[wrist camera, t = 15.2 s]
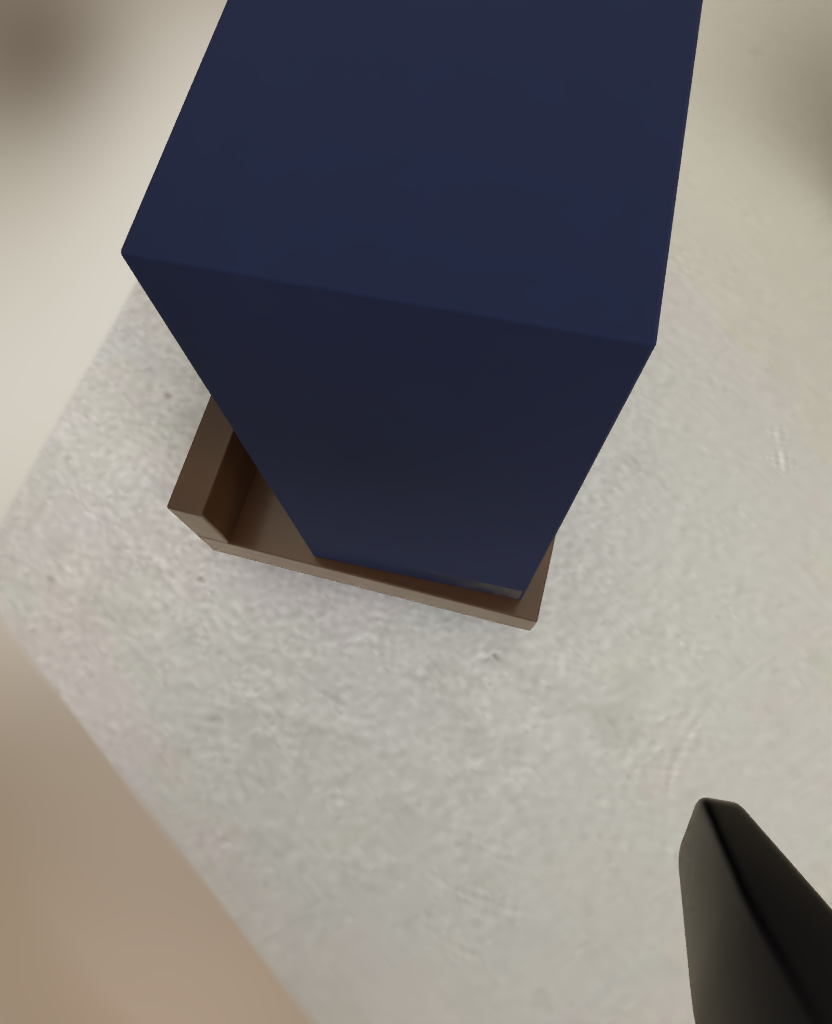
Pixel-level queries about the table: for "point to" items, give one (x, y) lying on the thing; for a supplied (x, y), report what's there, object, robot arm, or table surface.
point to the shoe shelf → (275, 540)
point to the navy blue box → (423, 259)
